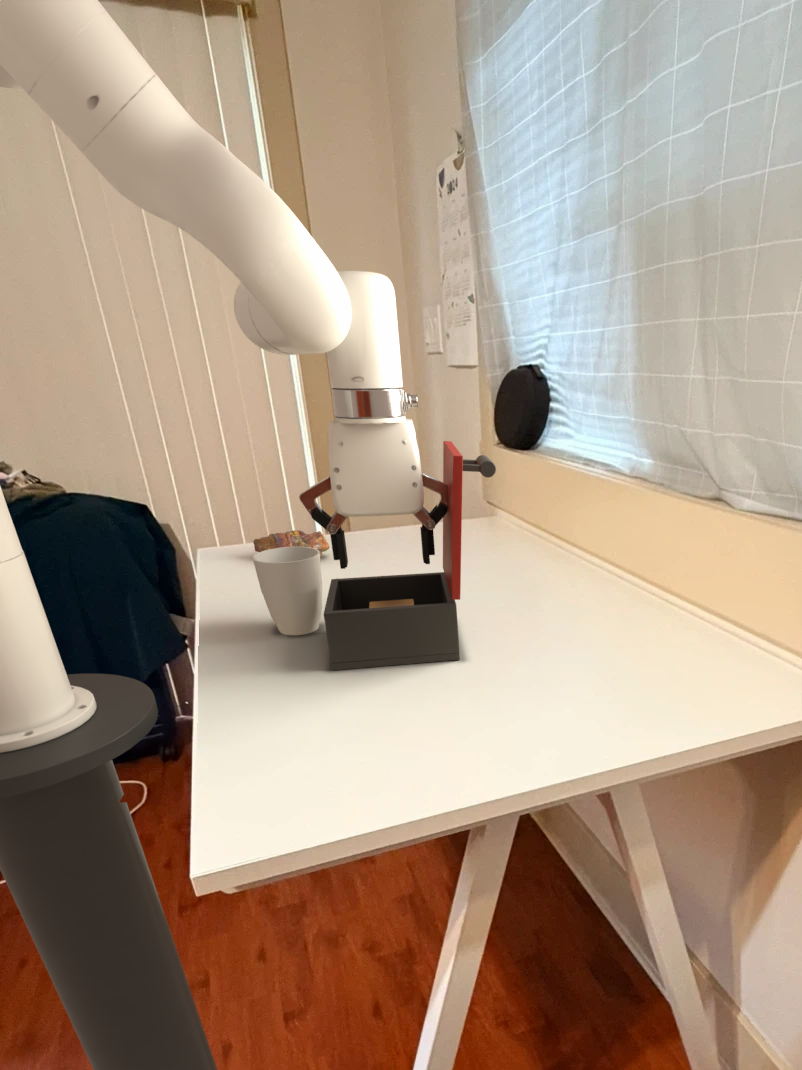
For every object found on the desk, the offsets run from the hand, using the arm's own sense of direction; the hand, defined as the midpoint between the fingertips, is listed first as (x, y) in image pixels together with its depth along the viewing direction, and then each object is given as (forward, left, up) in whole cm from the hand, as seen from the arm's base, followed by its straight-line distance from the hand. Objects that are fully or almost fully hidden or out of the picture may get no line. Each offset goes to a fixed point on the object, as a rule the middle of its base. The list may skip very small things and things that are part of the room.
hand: (385, 563), depth 84 cm
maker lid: (+8, 0, +5) cm, 9 cm away
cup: (-12, +9, -11) cm, 18 cm away
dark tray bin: (0, 0, -10) cm, 10 cm away
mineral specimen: (-17, +45, -11) cm, 49 cm away
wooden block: (0, 0, -9) cm, 9 cm away
